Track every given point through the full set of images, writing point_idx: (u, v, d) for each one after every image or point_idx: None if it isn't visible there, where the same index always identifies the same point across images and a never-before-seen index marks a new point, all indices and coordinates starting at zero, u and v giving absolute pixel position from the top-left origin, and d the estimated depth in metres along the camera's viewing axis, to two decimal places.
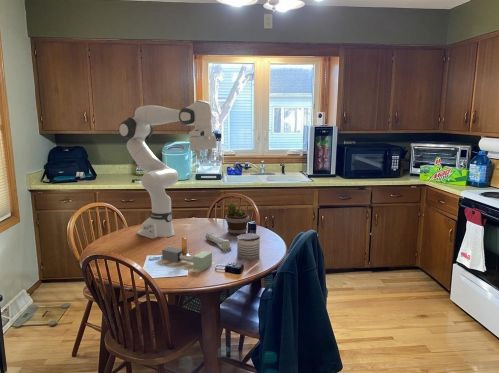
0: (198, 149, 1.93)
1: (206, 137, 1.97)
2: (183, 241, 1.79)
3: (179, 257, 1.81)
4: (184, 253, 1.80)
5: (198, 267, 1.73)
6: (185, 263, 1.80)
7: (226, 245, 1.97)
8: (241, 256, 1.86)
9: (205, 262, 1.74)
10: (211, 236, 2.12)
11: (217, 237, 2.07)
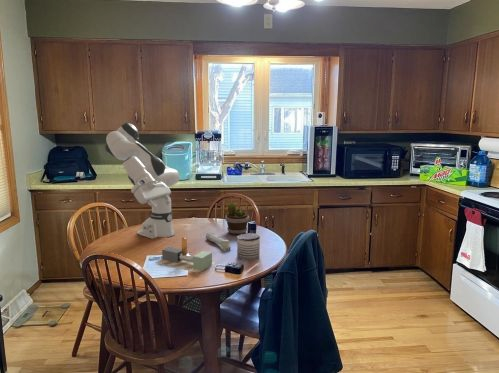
0: (147, 197, 1.76)
1: (150, 185, 1.82)
2: (183, 241, 1.79)
3: (179, 257, 1.81)
4: (184, 253, 1.80)
5: (198, 267, 1.73)
6: (185, 263, 1.80)
7: (226, 245, 1.97)
8: (241, 256, 1.86)
9: (205, 262, 1.74)
10: (211, 236, 2.12)
11: (217, 237, 2.07)
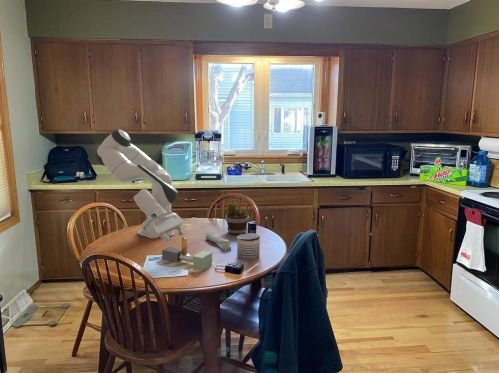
0: (160, 231, 1.74)
1: (162, 217, 1.79)
2: (183, 241, 1.79)
3: (179, 257, 1.81)
4: (184, 253, 1.80)
5: (198, 267, 1.73)
6: (185, 263, 1.80)
7: (226, 245, 1.98)
8: (241, 256, 1.86)
9: (205, 262, 1.74)
10: (211, 236, 2.12)
11: (217, 237, 2.08)
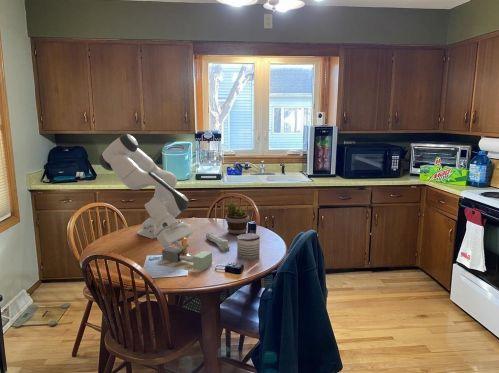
0: (170, 241, 1.74)
1: (172, 227, 1.79)
2: (183, 241, 1.79)
3: (179, 257, 1.81)
4: (184, 253, 1.80)
5: (198, 267, 1.73)
6: (185, 263, 1.80)
7: (225, 245, 1.97)
8: (241, 256, 1.86)
9: (205, 262, 1.74)
10: (211, 236, 2.12)
11: (216, 237, 2.08)
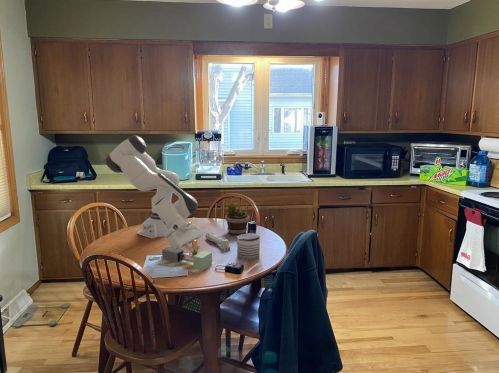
0: (181, 243, 1.71)
1: (182, 229, 1.77)
2: (193, 243, 1.76)
3: (189, 259, 1.78)
4: None
5: (198, 267, 1.73)
6: (185, 263, 1.80)
7: (225, 245, 1.98)
8: (241, 256, 1.86)
9: (205, 262, 1.74)
10: (211, 236, 2.12)
11: (217, 237, 2.08)
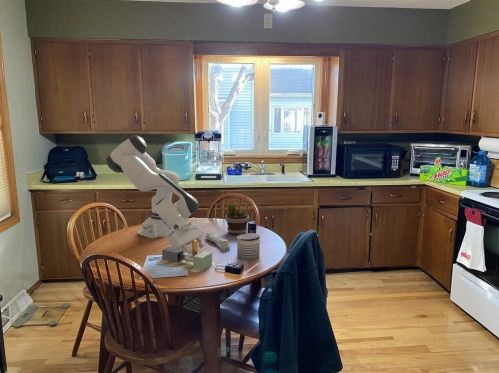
0: (182, 243, 1.71)
1: (183, 229, 1.77)
2: (193, 243, 1.76)
3: (189, 259, 1.78)
4: None
5: (198, 267, 1.73)
6: (185, 263, 1.80)
7: (225, 245, 1.98)
8: (241, 256, 1.86)
9: (205, 262, 1.74)
10: (211, 236, 2.12)
11: (216, 237, 2.08)
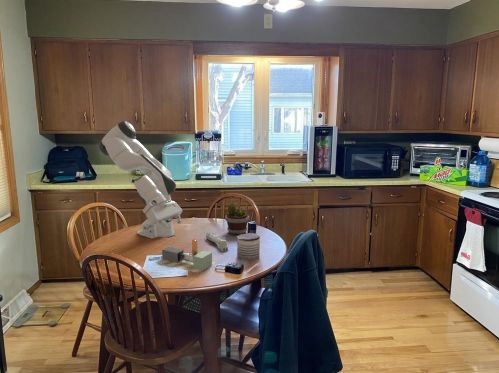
0: (159, 218, 1.75)
1: (161, 205, 1.81)
2: (193, 243, 1.76)
3: (189, 259, 1.78)
4: None
5: (198, 267, 1.73)
6: (185, 263, 1.80)
7: (223, 245, 1.97)
8: (241, 256, 1.86)
9: (205, 262, 1.74)
10: (210, 236, 2.13)
11: (216, 237, 2.08)
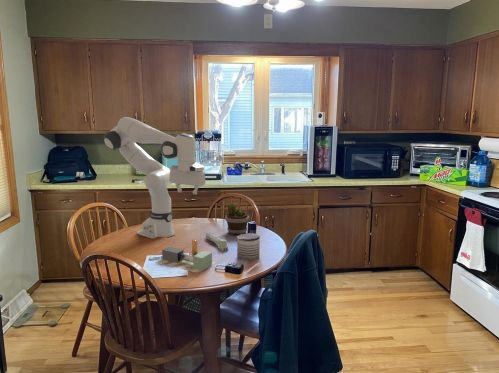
0: None
1: None
2: (193, 243, 1.76)
3: (189, 259, 1.78)
4: None
5: (198, 267, 1.73)
6: (185, 263, 1.80)
7: (223, 245, 1.98)
8: (241, 256, 1.86)
9: (205, 262, 1.74)
10: (210, 236, 2.13)
11: (216, 237, 2.08)
